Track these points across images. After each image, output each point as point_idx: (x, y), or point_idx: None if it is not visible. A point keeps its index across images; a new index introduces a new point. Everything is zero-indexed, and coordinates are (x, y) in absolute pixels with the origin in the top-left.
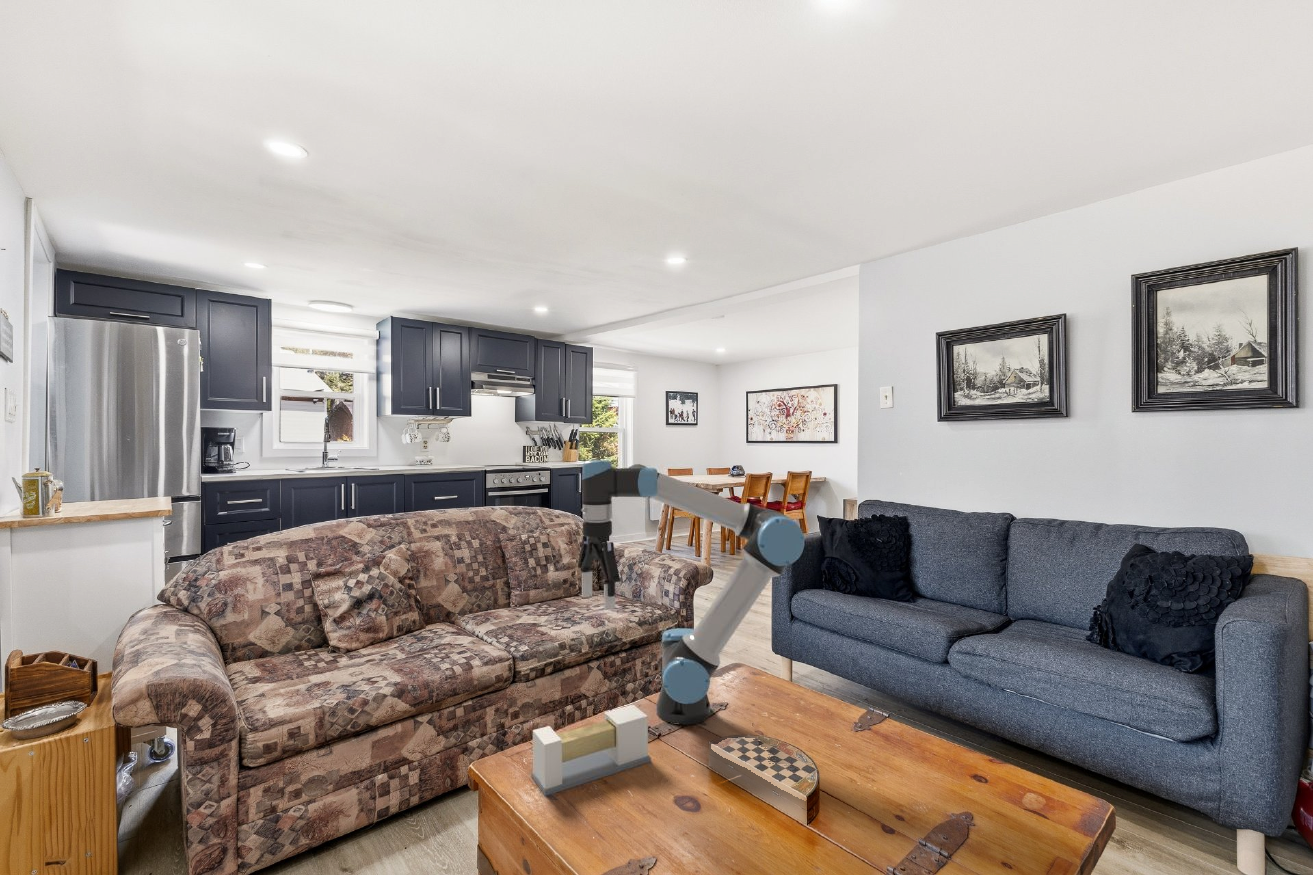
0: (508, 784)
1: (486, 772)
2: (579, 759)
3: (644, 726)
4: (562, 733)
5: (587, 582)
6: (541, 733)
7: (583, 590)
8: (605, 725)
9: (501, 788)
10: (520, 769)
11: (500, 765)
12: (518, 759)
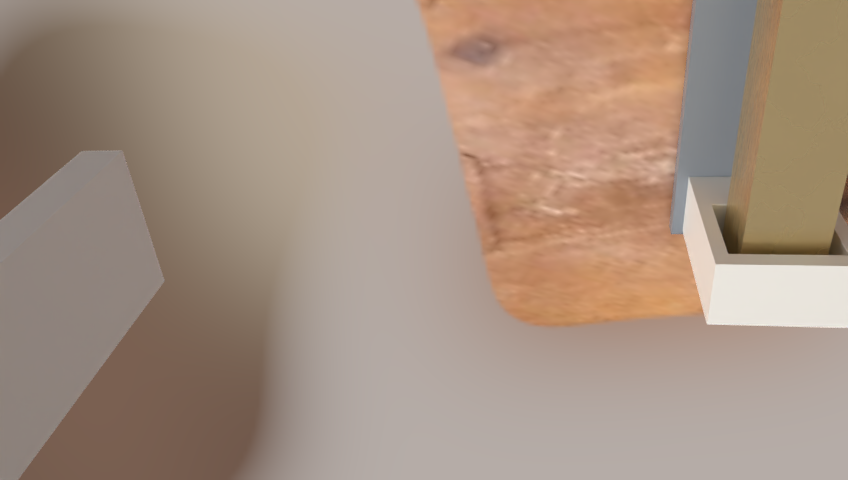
0: (664, 288)
1: (558, 317)
2: (706, 64)
3: None
4: (754, 207)
5: (19, 361)
6: (757, 307)
7: (115, 336)
8: (831, 11)
9: (672, 308)
10: (602, 237)
11: (541, 277)
12: (536, 224)
